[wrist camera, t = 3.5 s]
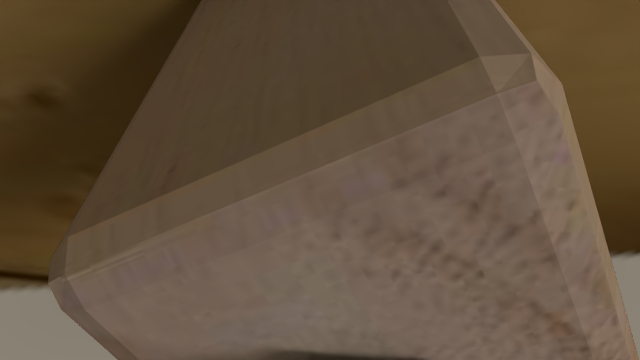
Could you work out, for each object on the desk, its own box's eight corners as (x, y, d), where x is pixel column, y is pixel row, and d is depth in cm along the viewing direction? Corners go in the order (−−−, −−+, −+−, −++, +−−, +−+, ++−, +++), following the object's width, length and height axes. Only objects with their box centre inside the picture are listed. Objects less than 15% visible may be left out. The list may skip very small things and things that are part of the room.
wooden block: (302, 140, 31) (278, 524, 15) (203, -22, 26) (3, 292, 10) (473, 66, 29) (669, 434, 12) (400, -131, 24) (571, 55, 7)
